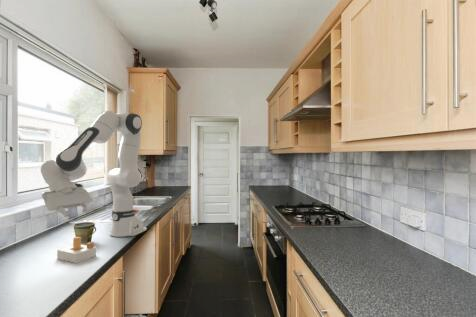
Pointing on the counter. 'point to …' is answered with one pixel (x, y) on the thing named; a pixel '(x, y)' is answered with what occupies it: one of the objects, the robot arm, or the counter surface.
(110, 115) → the robot arm
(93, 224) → the ceramic cup
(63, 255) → the housing
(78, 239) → the pin
